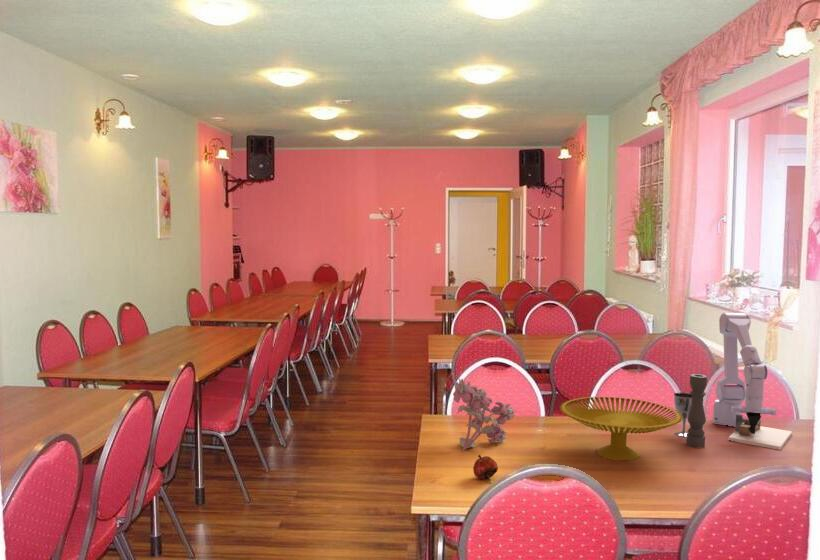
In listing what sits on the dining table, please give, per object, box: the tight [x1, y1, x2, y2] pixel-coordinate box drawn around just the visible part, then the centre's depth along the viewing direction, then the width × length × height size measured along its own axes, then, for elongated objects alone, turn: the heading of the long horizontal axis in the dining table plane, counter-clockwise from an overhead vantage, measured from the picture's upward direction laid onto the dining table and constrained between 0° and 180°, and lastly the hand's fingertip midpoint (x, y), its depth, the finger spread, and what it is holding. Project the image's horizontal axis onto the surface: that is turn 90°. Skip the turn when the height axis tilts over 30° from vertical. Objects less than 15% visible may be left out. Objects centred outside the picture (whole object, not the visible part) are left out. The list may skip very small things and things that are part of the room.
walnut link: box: [739, 419, 762, 436], centre depth 266 cm, size 15×4×3 cm, turn 137°
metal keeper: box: [734, 413, 759, 432], centre depth 265 cm, size 8×2×6 cm, turn 53°
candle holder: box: [685, 373, 708, 448], centre depth 252 cm, size 6×6×25 cm
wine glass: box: [673, 391, 692, 438], centre depth 265 cm, size 8×8×15 cm
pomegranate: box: [472, 454, 499, 484], centre depth 217 cm, size 7×7×10 cm
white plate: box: [728, 423, 793, 451], centre depth 263 cm, size 17×23×1 cm
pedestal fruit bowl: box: [559, 396, 683, 461], centre depth 242 cm, size 40×40×15 cm
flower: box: [452, 378, 517, 452], centre depth 249 cm, size 20×22×25 cm
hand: (752, 432), depth 260 cm, fingers closed, pressing on walnut link
